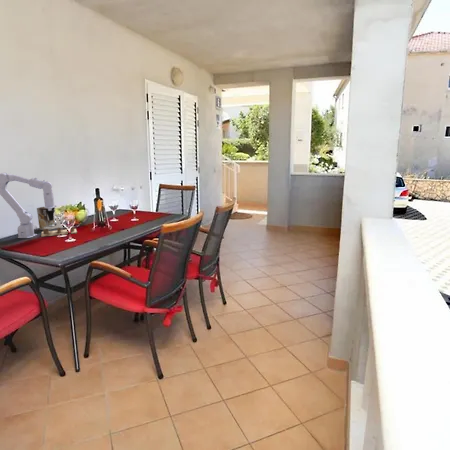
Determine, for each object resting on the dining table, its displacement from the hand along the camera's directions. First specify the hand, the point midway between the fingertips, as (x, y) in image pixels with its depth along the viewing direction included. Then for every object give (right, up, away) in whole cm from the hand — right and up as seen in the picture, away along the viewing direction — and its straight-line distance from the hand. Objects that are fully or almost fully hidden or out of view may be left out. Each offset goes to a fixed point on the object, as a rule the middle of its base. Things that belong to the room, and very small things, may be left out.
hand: (51, 219), depth 232 cm
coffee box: (-12, -7, +17) cm, 22 cm away
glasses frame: (+3, -6, +4) cm, 8 cm away
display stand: (+3, -10, +5) cm, 11 cm away
